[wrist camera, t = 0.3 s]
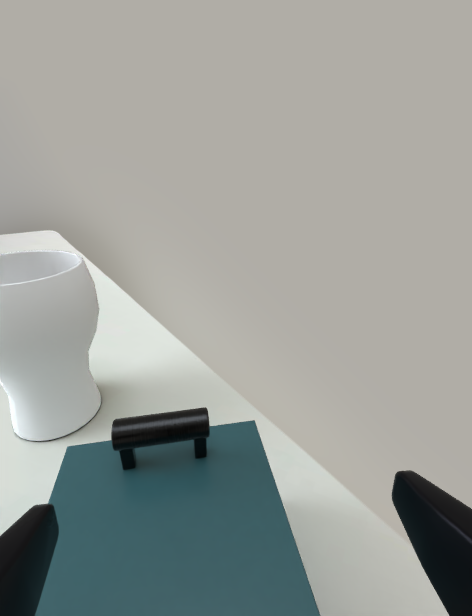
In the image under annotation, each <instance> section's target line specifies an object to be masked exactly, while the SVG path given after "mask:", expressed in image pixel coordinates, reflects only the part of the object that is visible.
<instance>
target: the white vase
mask: <svg viewBox="0 0 472 616" xmlns="http://www.w3.org/2000/svg"><path fill="white" fill-rule="evenodd" d="M98 314H99V305H98V300H97V294H96V289H95V284H94V281H93V279H92V277H91V275H90V273H89V271H88V269H87V266H86V264H85V262H84V260H83V258H82V257H81V256H79V255H78V254H75V253H72V252H67V251H59V250H31V251H19V252H11V253H3V254H0V383H1V385H2V387H3V388H4V390H5V391H6V393H7V395H8V396H9V405H10V414H11V419H12V424H13V428H14V432H15V433H16V434H17V435H18V436H19V437H21V438H24V439H26V440H31V441H44V440H52V439H55V438H59V437H62V436H65V435H67V434H69V433H71V432H74V431H76V430H78V429H79V428H80V427H82V426H83V425H85V424H86V423H88V422H89V421H90V420H91V419H92V418H93V417H94V416H95V414H96V413H97V411H98V410H99V408H100V404H101V396H100V393H99V390H98V388H97V385H96V383H95V381H94V379H93V377H92V375H91V372H90V370H89V354H88V351H89V348H90V346H91V343H92V340H93V338H94V335H95V332H96V328H97V321H98Z"/></svg>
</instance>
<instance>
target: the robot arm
mask: <svg viewBox="0 0 472 616" xmlns="http://www.w3.org/2000/svg"><path fill="white" fill-rule="evenodd" d="M392 501H393V504H394V506H395V508H396V510H397V513H398V515H399V517H400V519H401V521H402V524H403V526H404V528H405V530H406V532H407V535H408V537H409V539H410V541H411V543H412V546H413V548H414V550H415V552H416V554H417V556H418V559H419V561H420V563H421V565H422V567H423V569H424V571H425V572H426V574H427V576H428V578H429V580H430V582H431V583H432V585H433V587H434V589H435V591H436V592H437V594H438V596H439V598H440V600H441V601H442V603H443V605H444V607H445V608H446V610H447V612H448V614H449V616H472V509H471V508H470V507H468V506H466V505H465V504H463V503H462V502H460V501H459V500H456V498H454V497H452V496H451V495H449V494H448V493H446V492H445V491H443V490H442V489H440V488H438V487H437V486H435V485H434V484H432V483H431V482H429V481H427V480H426V479H425V478H423V477H421V476H420V475H418V474H417V473H415V472H413V471H399V472H397V473H396V475H395V480H394V485H393V490H392ZM58 535H59V526H58V521H57V517H56V513H55V508H54V506H53V505H52V504H41V505H35V506H33V507H32V508H31V509H29V510H28V511H27V512H26V513H25V514H24V515H23V516H22V517H21V518H20V519H18V520H17V521H16V522H15V523H14V524H13V525H12V526H11V527H10V528H9V529H8V530H6V531H5V532H4V533H3V534H2V535H1V536H0V616H35V614H36V611H37V608H38V604H39V601H40V598H41V594H42V591H43V588H44V584H45V581H46V577H47V574H48V571H49V567H50V564H51V560H52V557H53V554H54V550H55V547H56V543H57V540H58Z"/></svg>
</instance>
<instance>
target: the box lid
mask: <svg viewBox="0 0 472 616" xmlns="http://www.w3.org/2000/svg"><path fill="white" fill-rule="evenodd" d="M48 504H52V505H53V506H54V508H55V513H56V517H57V521H58V526H59V535H58V540H57V543H56V547H55V550H54V554H53V557H52V560H51V564H50V567H49V571H48V574H47V577H46V581H45V584H44V588H43V591H42V594H41V598H40V601H39V604H38V608H37V611H36V614H35V616H320V614H319V611H318V608H317V605H316V602H315V599H314V596H313V593H312V590H311V587H310V584H309V581H308V578H307V575H306V572H305V569H304V566H303V563H302V560H301V557H300V554H299V551H298V548H297V545H296V542H295V539H294V536H293V533H292V530H291V528H290V525H289V522H288V519H287V516H286V513H285V510H284V507H283V504H282V501H281V498H280V495H279V492H278V489H277V486H276V483H275V480H274V477H273V474H272V471H271V468H270V465H269V462H268V459H267V456H266V453H265V450H264V447H263V444H262V441H261V439H260V436H259V433H258V430H257V427H256V424H255V421H254V420H253V421H246V422H239V423H232V424H225V425H218V426H210V427H209V417H208V411H207V408H198V409H190V410H182V411H174V412H167V413H159V414H151V415H143V416H136V417H128V418H120V419H115V420H114V421H113V424H112V432H111V441H104V442H97V443H90V444H82V445H75V446H68V447H67V450H66V453H65V456H64V459H63V461H62V464H61V467H60V470H59V473H58V476H57V479H56V482H55V485H54V488H53V491H52V494H51V497H50V499H49V502H48Z"/></svg>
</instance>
